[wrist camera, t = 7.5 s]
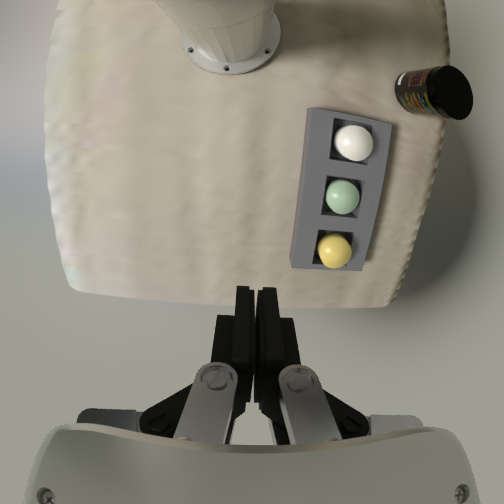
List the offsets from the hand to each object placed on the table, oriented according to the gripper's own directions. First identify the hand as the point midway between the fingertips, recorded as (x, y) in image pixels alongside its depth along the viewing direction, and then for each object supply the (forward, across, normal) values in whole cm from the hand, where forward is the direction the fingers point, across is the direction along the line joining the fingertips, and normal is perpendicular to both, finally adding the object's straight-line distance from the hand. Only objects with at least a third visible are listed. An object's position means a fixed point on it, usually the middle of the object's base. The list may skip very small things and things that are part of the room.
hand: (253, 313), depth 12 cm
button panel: (+27, -12, +1) cm, 30 cm away
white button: (+25, -12, -6) cm, 28 cm away
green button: (+26, -12, +1) cm, 29 cm away
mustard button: (+25, -12, +9) cm, 29 cm away
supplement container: (+27, -22, -16) cm, 39 cm away
